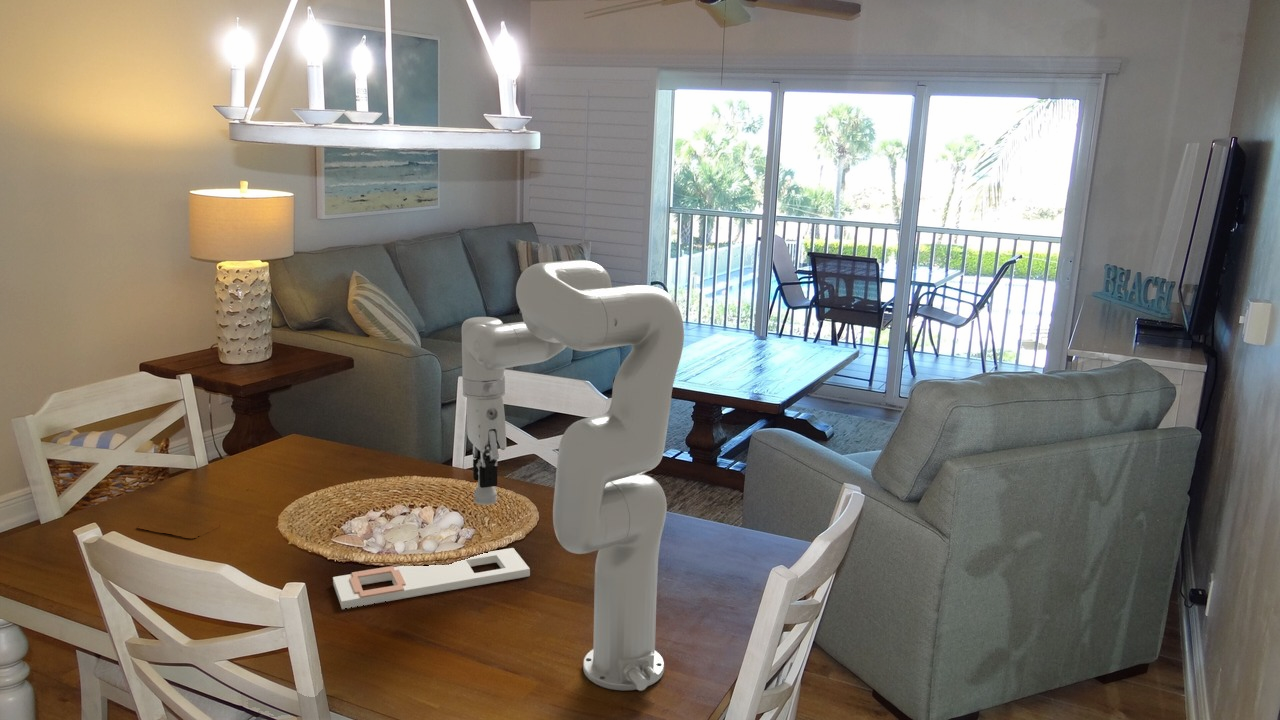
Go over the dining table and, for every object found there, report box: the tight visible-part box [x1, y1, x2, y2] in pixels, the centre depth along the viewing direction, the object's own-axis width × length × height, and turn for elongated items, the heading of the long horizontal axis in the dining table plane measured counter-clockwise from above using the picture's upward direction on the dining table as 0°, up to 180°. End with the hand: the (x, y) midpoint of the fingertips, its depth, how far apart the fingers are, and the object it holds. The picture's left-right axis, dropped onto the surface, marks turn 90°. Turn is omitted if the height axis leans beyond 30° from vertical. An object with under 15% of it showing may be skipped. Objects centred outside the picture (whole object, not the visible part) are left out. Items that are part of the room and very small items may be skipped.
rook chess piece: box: [473, 459, 498, 506], centre depth 179 cm, size 4×4×8 cm
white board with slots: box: [332, 547, 531, 610], centre depth 179 cm, size 10×34×2 cm, turn 115°
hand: (485, 481), depth 179 cm, fingers closed on rook chess piece, 3 cm apart
